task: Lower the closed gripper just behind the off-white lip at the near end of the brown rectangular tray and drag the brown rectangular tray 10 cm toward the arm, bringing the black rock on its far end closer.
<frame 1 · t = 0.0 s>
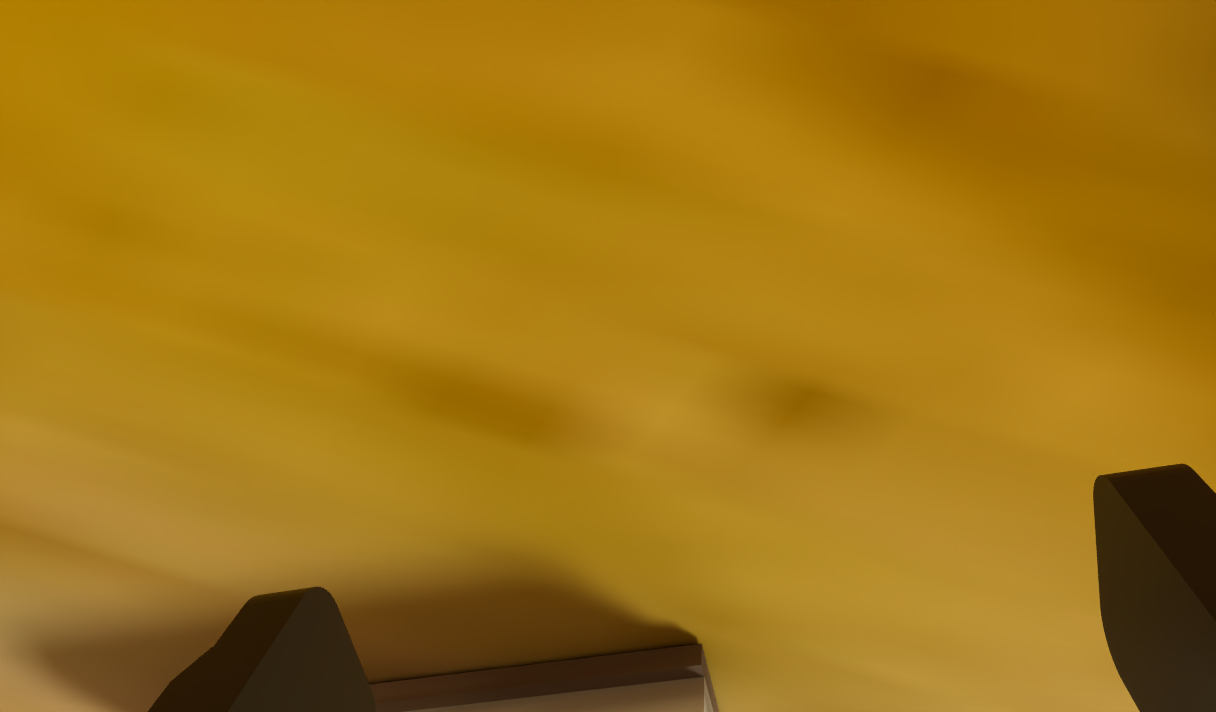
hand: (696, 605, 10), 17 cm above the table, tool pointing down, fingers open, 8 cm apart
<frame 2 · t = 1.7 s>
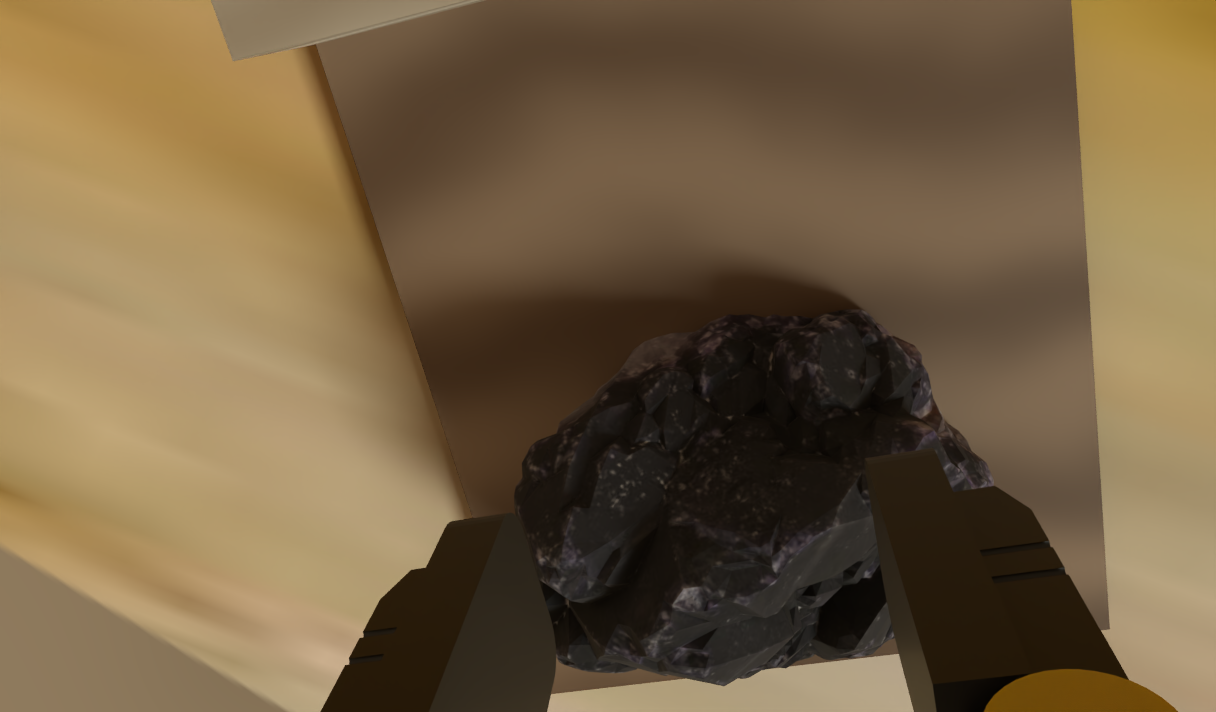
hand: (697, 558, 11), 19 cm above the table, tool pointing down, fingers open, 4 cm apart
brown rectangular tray: (736, 346, 27), point 3 cm above the table, slide at 3.1 cm, touching black rock
black rock: (753, 466, 32), resting on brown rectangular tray
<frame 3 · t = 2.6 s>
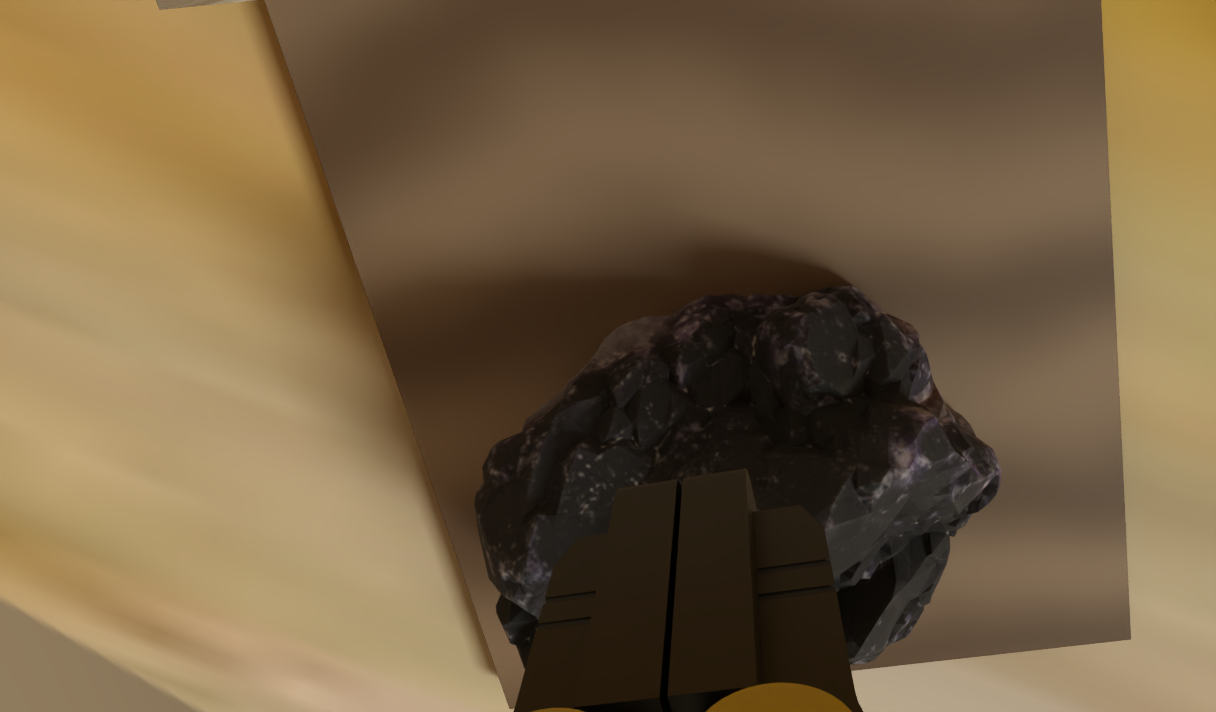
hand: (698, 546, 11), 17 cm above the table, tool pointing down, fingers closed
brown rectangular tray: (727, 332, 25), point 3 cm above the table, slide at 4.2 cm, touching black rock
black rock: (740, 459, 29), resting on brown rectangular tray
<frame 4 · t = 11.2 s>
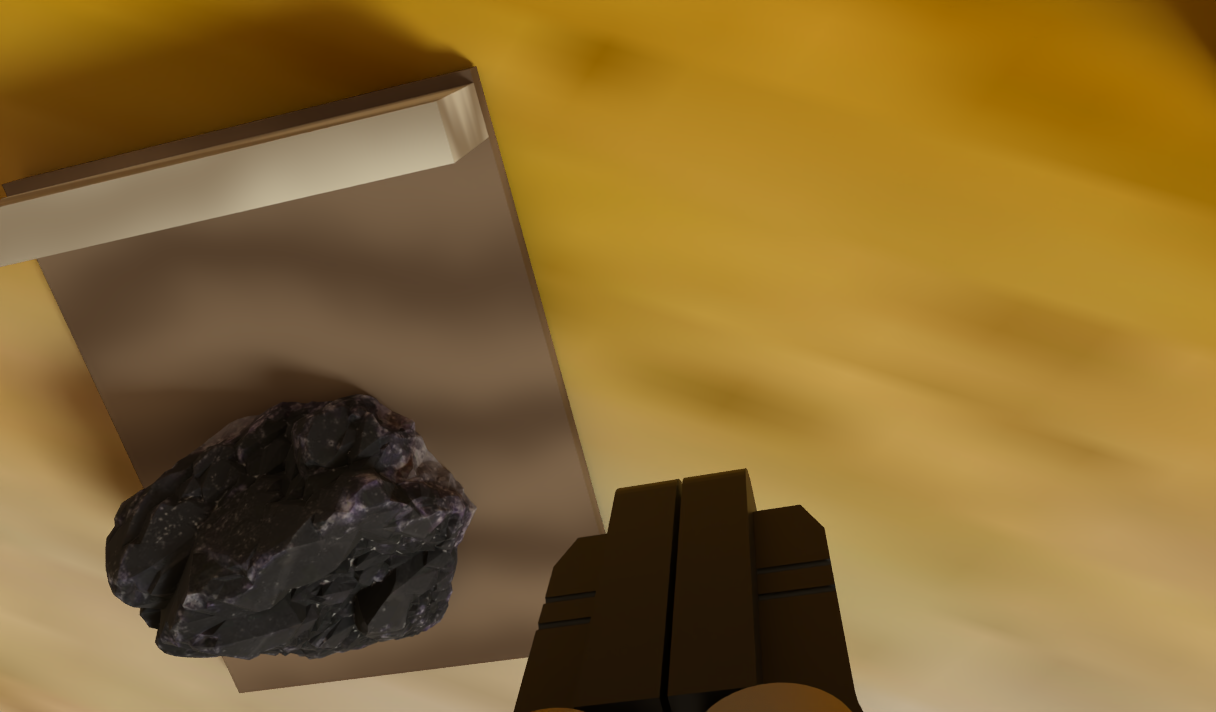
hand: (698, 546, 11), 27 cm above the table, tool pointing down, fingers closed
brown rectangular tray: (318, 451, 39), point 3 cm above the table, slide at 9.7 cm, touching black rock
black rock: (338, 504, 44), resting on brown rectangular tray
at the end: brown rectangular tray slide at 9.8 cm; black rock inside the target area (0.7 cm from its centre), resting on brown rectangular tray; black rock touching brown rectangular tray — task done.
